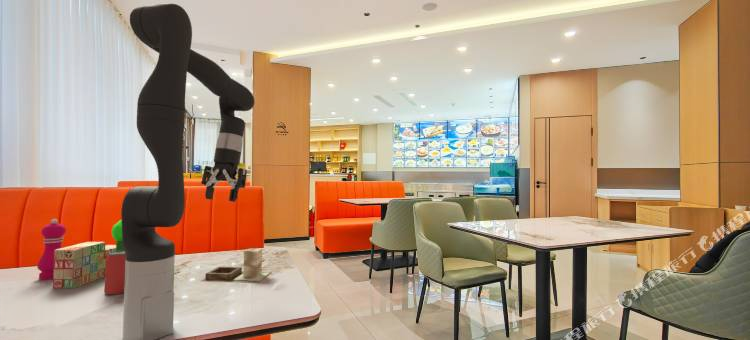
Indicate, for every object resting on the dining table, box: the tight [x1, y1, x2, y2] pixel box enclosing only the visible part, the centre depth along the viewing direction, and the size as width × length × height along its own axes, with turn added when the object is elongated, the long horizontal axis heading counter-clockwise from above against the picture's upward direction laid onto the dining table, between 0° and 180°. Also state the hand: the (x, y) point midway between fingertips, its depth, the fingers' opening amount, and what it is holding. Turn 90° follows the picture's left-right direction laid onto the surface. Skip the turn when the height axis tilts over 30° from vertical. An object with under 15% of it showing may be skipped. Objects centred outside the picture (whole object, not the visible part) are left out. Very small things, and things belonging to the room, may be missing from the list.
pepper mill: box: [37, 218, 67, 281], centre depth 112 cm, size 7×7×20 cm
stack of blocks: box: [52, 241, 116, 289], centre depth 111 cm, size 21×6×12 cm, turn 2°
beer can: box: [103, 250, 126, 296], centre depth 99 cm, size 7×7×12 cm
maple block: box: [243, 247, 263, 278], centre depth 112 cm, size 4×4×9 cm
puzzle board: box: [200, 266, 273, 284], centre depth 112 cm, size 20×12×3 cm, turn 88°
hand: (220, 200), depth 100 cm, fingers open, 8 cm apart
